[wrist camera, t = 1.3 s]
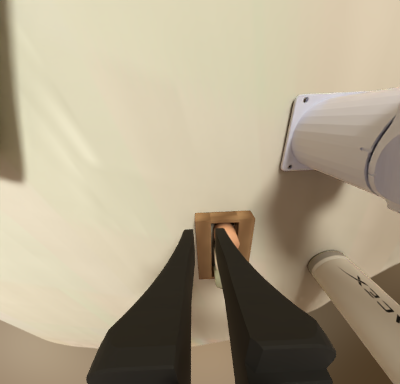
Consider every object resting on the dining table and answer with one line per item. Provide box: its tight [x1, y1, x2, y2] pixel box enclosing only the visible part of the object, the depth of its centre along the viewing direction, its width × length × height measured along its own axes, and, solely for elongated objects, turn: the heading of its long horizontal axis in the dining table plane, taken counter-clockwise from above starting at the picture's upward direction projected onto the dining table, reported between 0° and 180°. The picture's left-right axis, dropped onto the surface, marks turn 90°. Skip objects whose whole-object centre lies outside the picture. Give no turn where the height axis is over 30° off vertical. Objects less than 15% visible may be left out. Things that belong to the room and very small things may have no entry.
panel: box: [195, 211, 255, 279], centre depth 23 cm, size 8×12×2 cm, turn 2°
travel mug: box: [308, 251, 400, 384], centre depth 18 cm, size 6×7×20 cm
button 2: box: [213, 223, 240, 249], centre depth 20 cm, size 3×3×3 cm
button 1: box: [213, 263, 222, 289], centre depth 23 cm, size 3×3×3 cm
